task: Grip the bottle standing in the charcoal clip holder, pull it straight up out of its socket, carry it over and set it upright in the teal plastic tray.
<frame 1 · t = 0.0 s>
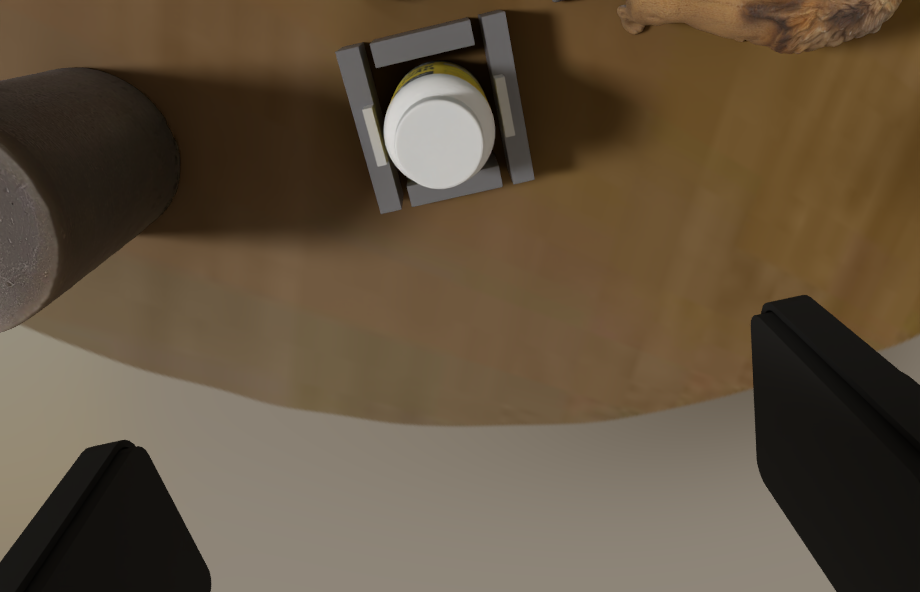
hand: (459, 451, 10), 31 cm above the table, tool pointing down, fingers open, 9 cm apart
pillar candle: (94, 152, 39), on the table
supplement bottle: (438, 108, 39), resting in clip holder
clip holder: (438, 109, 39), on the table
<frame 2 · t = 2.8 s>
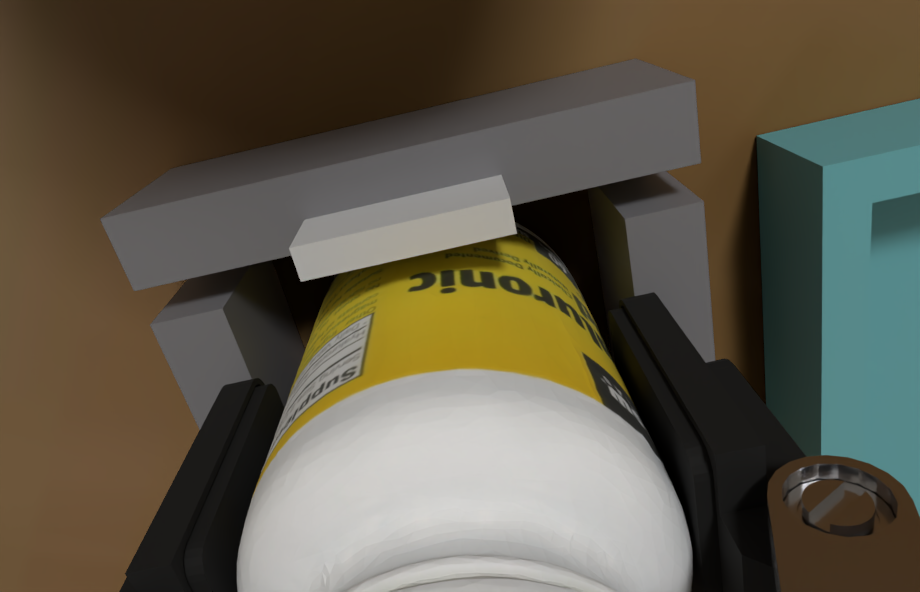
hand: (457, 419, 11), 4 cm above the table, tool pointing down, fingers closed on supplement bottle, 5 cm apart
supplement bottle: (452, 317, 14), resting in clip holder, touching gripper
clip holder: (452, 322, 14), on the table
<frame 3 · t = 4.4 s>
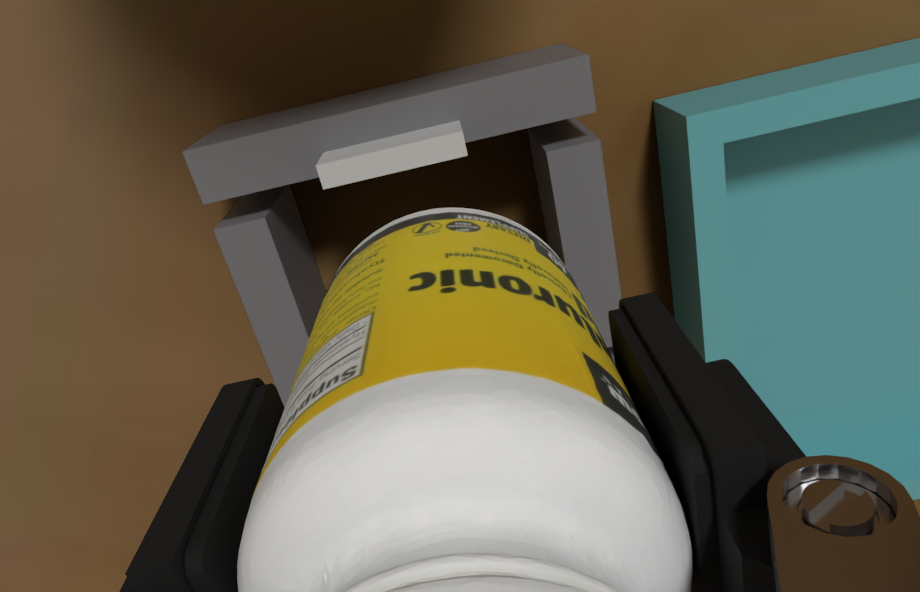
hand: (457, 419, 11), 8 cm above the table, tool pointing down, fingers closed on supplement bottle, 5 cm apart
supplement bottle: (451, 317, 14), point 5 cm above the table, touching gripper
tray: (894, 271, 20), on the table
clip holder: (430, 245, 19), on the table
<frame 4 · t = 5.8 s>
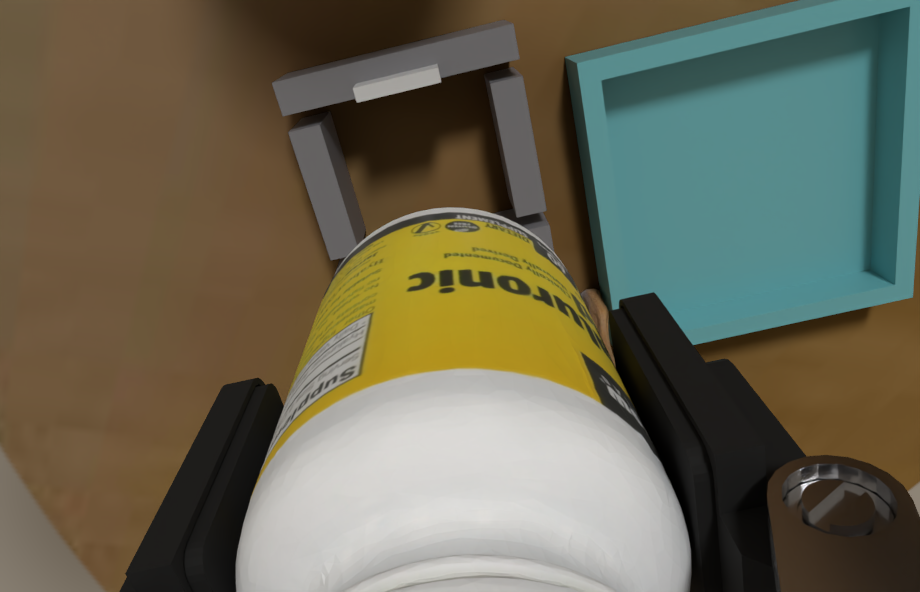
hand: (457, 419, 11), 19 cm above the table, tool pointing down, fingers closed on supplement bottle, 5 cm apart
supplement bottle: (450, 317, 14), point 15 cm above the table, touching gripper
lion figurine: (557, 395, 34), on the table
tray: (734, 175, 29), on the table
clip holder: (422, 155, 28), on the table
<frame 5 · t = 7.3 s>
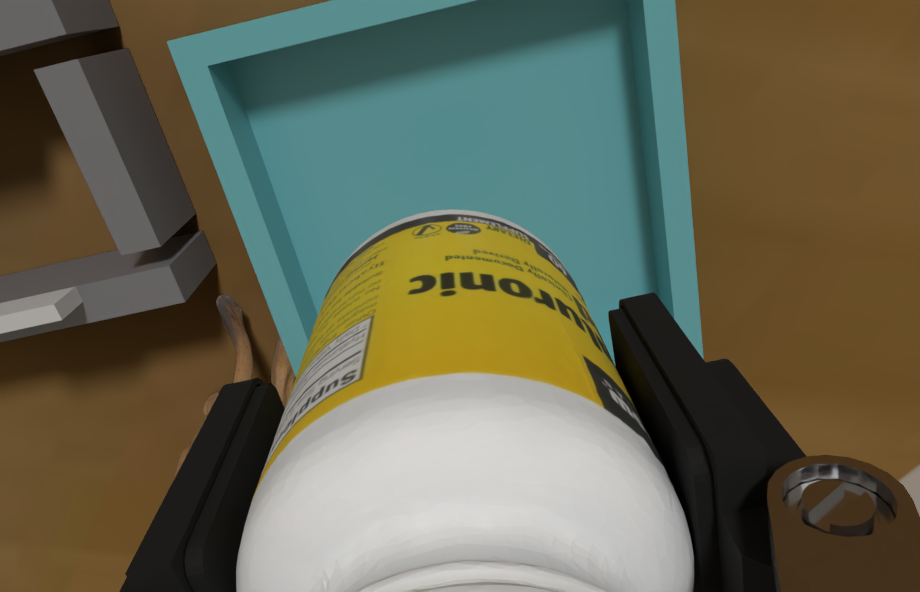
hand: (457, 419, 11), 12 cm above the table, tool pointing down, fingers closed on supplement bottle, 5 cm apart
supplement bottle: (451, 319, 14), point 8 cm above the table, touching gripper
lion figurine: (284, 464, 27), on the table
tray: (463, 196, 22), on the table
clip holder: (31, 166, 21), on the table
when the fingers open (6 cm above the table, at t = 8.7 s): supplement bottle drops 1 cm, resting on tray.
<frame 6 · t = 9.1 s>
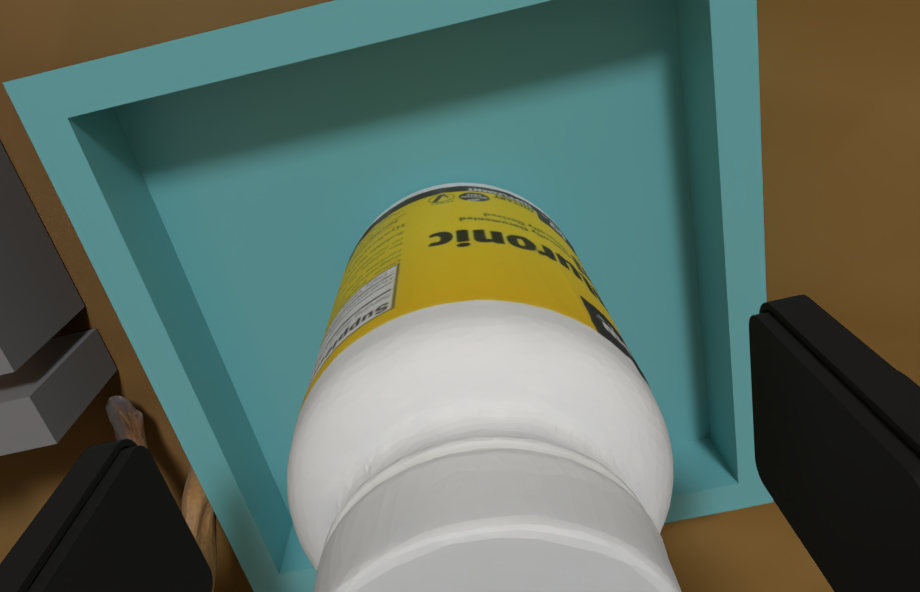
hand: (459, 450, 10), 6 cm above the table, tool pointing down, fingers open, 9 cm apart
supplement bottle: (461, 285, 16), resting on tray
tray: (449, 281, 16), on the table
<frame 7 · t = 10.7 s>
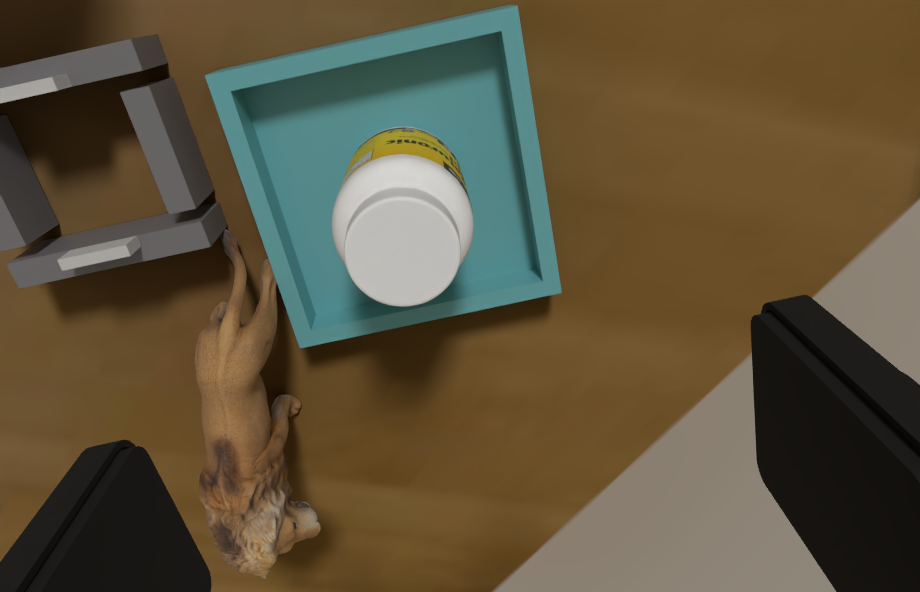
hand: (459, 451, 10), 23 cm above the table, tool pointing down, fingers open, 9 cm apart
supplement bottle: (404, 180, 32), resting on tray
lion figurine: (270, 362, 36), on the table
tray: (399, 179, 32), on the table
clip holder: (101, 156, 31), on the table
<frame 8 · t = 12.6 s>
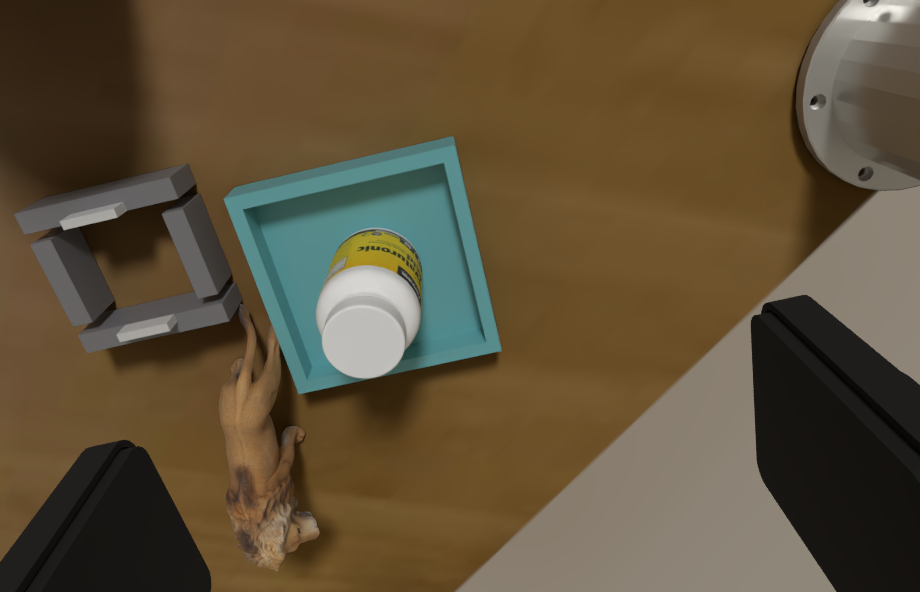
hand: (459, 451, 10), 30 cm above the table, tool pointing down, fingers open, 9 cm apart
supplement bottle: (378, 265, 41), resting on tray
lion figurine: (279, 401, 46), on the table
tray: (374, 263, 41), on the table
clip holder: (146, 250, 41), on the table
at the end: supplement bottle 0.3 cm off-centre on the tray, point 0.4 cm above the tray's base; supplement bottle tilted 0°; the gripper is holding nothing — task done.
